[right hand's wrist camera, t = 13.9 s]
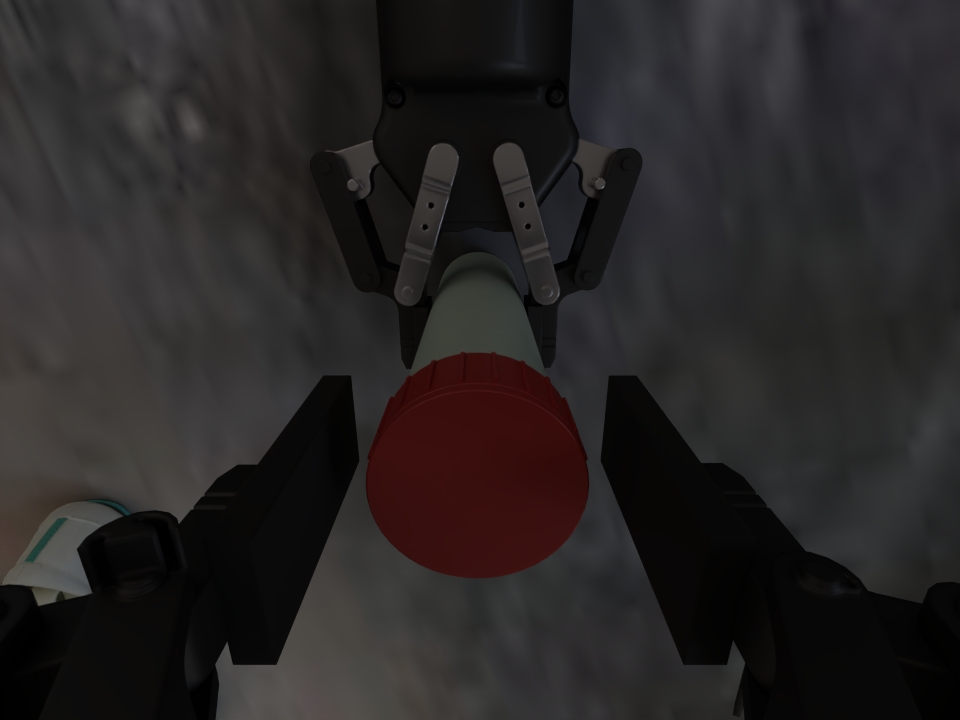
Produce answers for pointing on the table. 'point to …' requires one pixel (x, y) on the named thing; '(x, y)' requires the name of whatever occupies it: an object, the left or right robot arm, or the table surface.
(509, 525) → the lid
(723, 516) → the right robot arm
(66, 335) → the table surface
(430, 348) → the bottle
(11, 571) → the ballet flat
